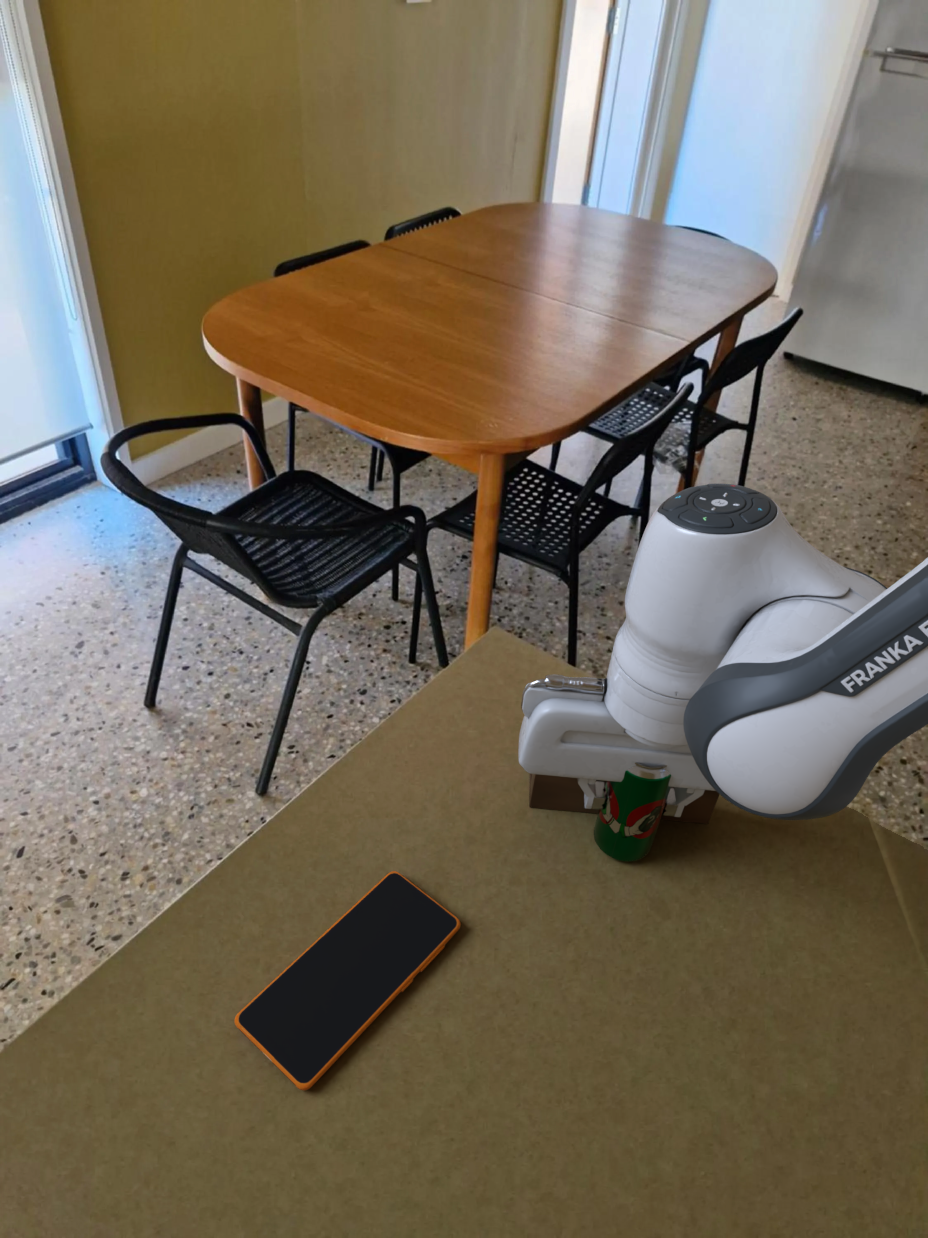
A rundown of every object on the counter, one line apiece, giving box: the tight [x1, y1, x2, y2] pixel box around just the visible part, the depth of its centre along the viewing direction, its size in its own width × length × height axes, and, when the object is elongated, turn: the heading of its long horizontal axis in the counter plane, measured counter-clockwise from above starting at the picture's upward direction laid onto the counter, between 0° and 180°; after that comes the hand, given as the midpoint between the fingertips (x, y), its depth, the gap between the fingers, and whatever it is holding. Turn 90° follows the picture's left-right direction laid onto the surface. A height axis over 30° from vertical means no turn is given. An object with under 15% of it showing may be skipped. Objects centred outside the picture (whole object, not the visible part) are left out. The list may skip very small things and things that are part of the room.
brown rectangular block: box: [528, 773, 720, 825], centre depth 78 cm, size 16×5×8 cm, turn 86°
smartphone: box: [234, 870, 462, 1091], centre depth 65 cm, size 8×17×1 cm, turn 141°
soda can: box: [593, 762, 671, 862], centre depth 73 cm, size 5×5×12 cm
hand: (631, 806), depth 74 cm, fingers closed on soda can, 5 cm apart
